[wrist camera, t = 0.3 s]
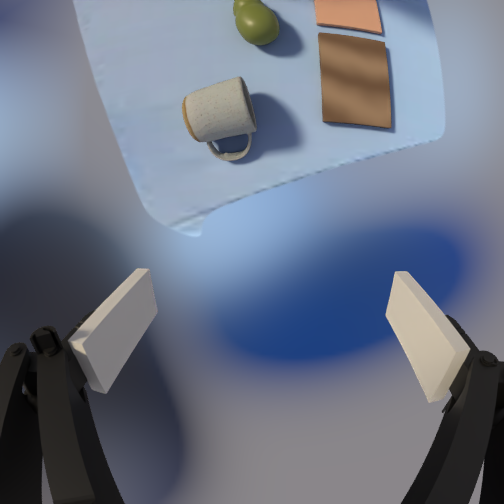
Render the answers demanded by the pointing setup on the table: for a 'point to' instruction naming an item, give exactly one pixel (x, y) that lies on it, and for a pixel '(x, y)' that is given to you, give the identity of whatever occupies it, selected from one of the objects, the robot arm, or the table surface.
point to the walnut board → (354, 80)
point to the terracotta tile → (349, 14)
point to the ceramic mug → (220, 115)
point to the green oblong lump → (255, 22)
